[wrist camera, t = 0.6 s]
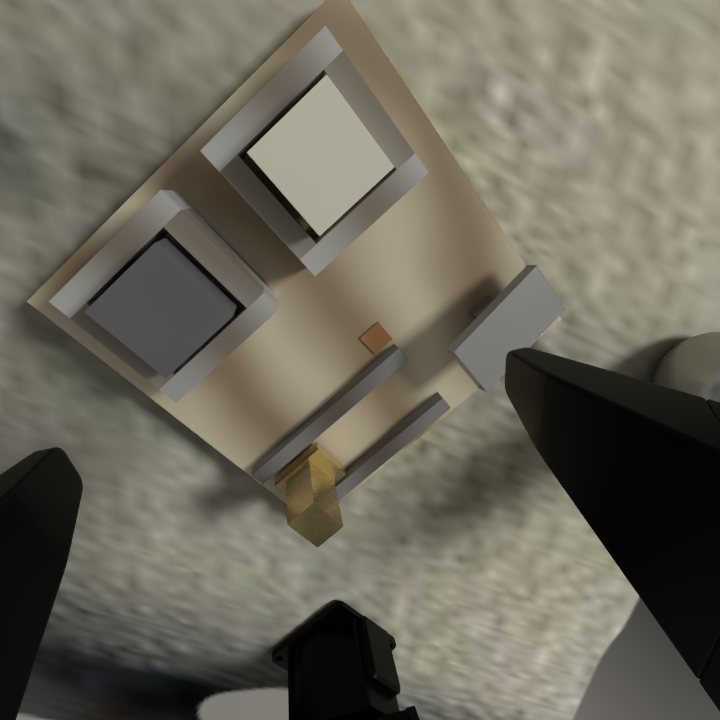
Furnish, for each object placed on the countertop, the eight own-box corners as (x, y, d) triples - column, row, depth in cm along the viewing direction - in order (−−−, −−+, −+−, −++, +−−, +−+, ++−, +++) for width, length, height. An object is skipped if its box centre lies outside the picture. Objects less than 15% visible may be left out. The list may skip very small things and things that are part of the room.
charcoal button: (177, 360, 19) (166, 378, 17) (104, 299, 17) (84, 311, 16) (237, 303, 18) (232, 316, 17) (168, 236, 17) (154, 242, 15)
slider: (303, 499, 24) (308, 557, 21) (275, 477, 24) (274, 532, 20) (343, 465, 24) (356, 518, 20) (316, 441, 23) (323, 491, 19)
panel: (311, 507, 27) (316, 560, 23) (44, 293, 20) (-12, 318, 16) (546, 312, 25) (594, 334, 21) (335, 1, 18) (350, -50, 14)
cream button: (315, 231, 18) (319, 236, 16) (250, 156, 17) (246, 152, 15) (382, 169, 17) (394, 166, 16) (321, 87, 16) (326, 74, 14)
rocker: (478, 388, 21) (487, 392, 21) (446, 349, 20) (454, 352, 20) (555, 307, 22) (565, 309, 21) (527, 265, 21) (537, 265, 20)
